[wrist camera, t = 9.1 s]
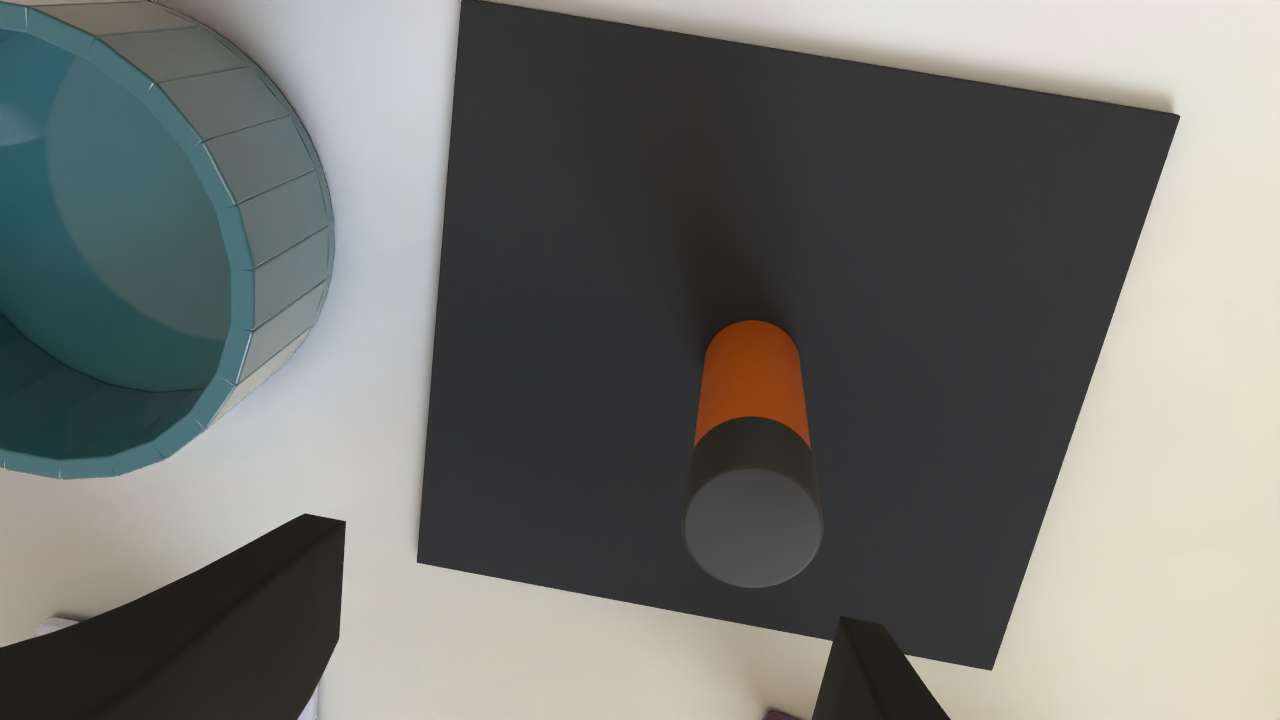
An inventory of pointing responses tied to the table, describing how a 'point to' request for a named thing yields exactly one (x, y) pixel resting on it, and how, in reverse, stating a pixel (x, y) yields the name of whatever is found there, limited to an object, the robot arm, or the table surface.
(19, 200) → the teal round dish
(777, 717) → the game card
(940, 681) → the table surface
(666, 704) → the table surface
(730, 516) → the glue stick
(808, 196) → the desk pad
